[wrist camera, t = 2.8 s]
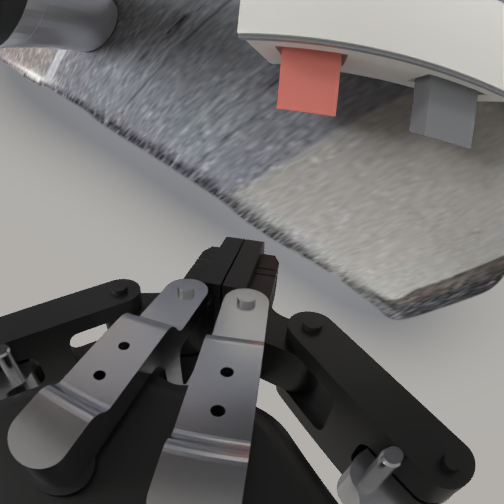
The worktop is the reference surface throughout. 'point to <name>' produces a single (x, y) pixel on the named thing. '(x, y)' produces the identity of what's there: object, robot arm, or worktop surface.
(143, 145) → the worktop surface
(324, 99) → the red button
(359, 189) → the worktop surface
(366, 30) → the push button box
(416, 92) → the grey button
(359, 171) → the worktop surface
